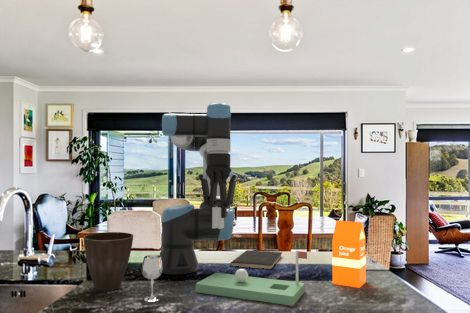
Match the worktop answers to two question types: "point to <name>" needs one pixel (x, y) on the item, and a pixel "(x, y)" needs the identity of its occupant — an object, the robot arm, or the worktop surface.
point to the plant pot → (107, 258)
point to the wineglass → (152, 272)
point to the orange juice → (349, 254)
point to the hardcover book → (257, 259)
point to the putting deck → (255, 287)
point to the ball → (241, 275)
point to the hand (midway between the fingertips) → (218, 228)
